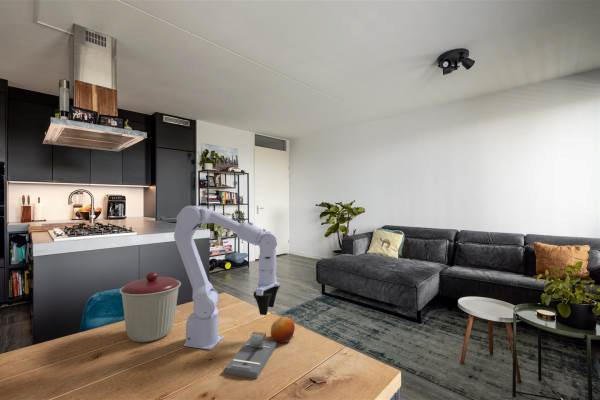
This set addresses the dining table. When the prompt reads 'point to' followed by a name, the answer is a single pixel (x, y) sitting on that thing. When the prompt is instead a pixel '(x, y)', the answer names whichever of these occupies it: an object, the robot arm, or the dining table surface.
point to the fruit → (282, 330)
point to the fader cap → (258, 339)
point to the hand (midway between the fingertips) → (266, 310)
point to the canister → (149, 307)
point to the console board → (250, 360)
